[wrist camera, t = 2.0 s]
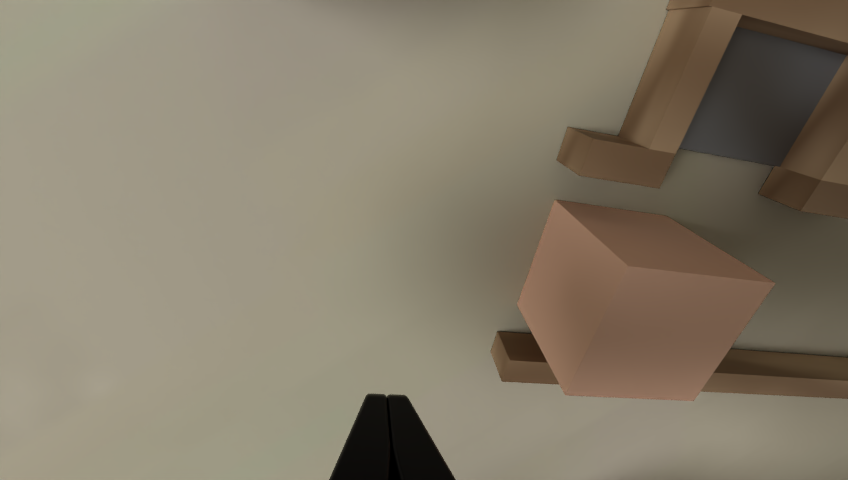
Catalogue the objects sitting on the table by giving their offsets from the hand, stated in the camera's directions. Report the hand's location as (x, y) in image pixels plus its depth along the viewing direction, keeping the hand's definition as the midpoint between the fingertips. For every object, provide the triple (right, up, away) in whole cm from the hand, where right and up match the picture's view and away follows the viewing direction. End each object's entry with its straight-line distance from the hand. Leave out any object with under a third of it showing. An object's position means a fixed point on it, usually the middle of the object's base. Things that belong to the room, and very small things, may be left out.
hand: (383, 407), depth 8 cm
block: (+8, +3, +8) cm, 12 cm away
